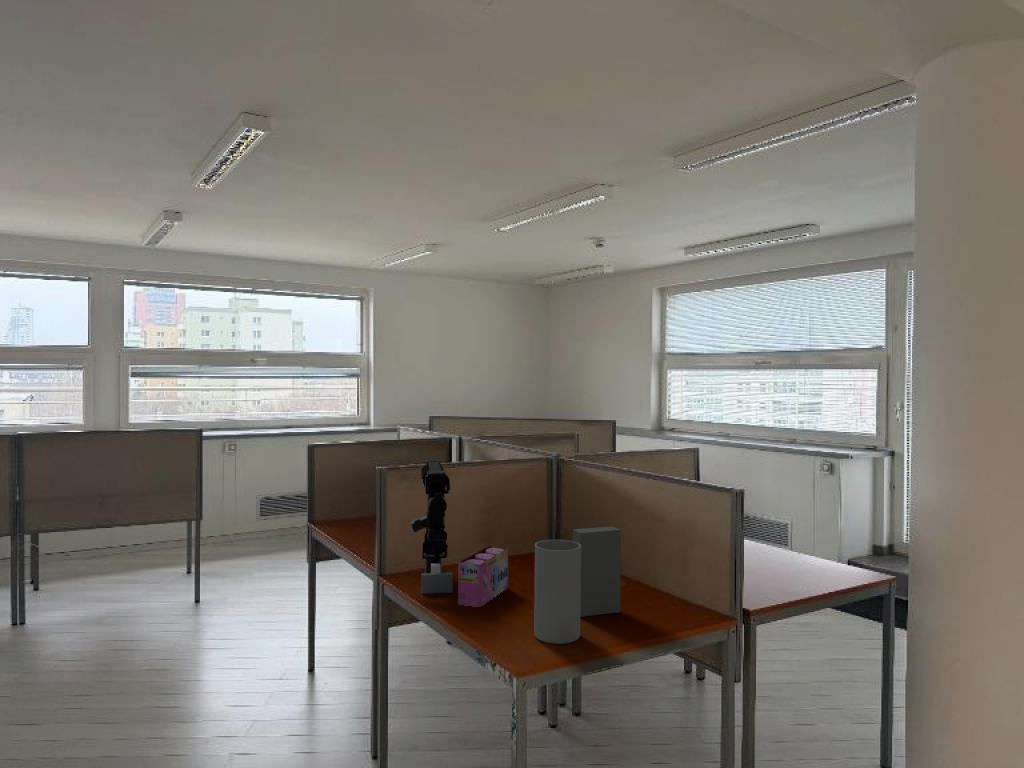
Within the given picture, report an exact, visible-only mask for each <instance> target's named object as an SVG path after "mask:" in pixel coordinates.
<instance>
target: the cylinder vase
mask: <svg viewBox="0 0 1024 768" xmlns="http://www.w3.org/2000/svg"><path fill="white" fill-rule="evenodd" d="M580 599H581V545H580V544H579V543H577V542H573V540H566V539H546V540H540V541H537V542H535V544H534V600H533V601H534V609H533V610H534V611H533V612H534V613H533V615H534V617H533V621H534V625H533V628H534V629H533V630H534V631H533V634H534V636H535V638H536V639H537V640H539V641H540V642H542V643H543V642H544V643H546V644H554V645H564V644H571V643H574V642H575V641H577V640H578V639H579V638H580V636H581V618H580Z"/></svg>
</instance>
